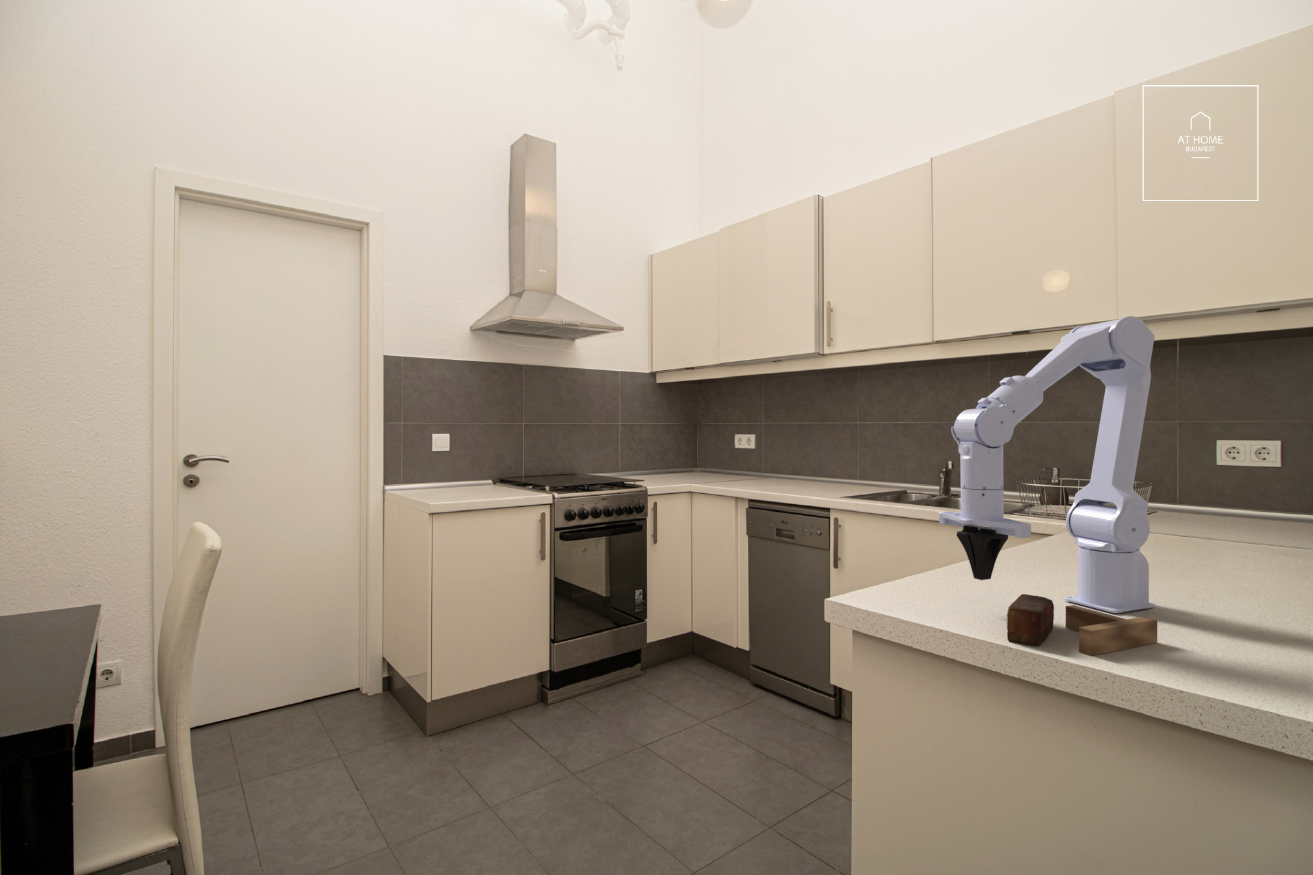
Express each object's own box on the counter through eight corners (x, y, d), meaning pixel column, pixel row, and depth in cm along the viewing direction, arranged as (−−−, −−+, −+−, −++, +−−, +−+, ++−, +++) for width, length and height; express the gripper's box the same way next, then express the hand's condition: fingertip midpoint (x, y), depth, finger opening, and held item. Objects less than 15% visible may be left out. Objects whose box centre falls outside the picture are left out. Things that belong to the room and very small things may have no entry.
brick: (1041, 649, 78) (1042, 611, 78) (1006, 642, 81) (1006, 606, 81) (1054, 629, 86) (1055, 595, 86) (1022, 623, 89) (1022, 590, 89)
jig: (1090, 623, 88) (1090, 602, 88) (1157, 642, 80) (1157, 619, 80) (1026, 634, 83) (1026, 611, 83) (1091, 655, 75) (1091, 631, 75)
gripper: (924, 485, 99) (924, 571, 99) (1005, 494, 85) (1005, 592, 86) (957, 483, 102) (958, 566, 102) (1041, 491, 88) (1041, 587, 88)
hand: (982, 578), depth 94 cm, fingers closed
